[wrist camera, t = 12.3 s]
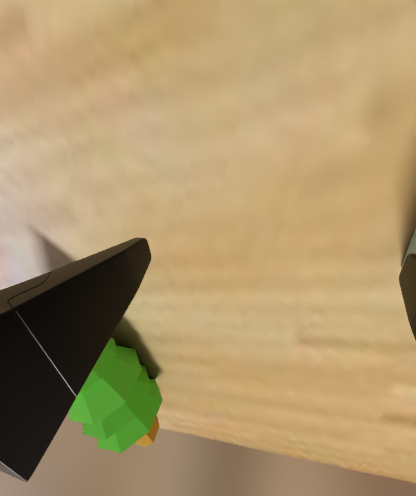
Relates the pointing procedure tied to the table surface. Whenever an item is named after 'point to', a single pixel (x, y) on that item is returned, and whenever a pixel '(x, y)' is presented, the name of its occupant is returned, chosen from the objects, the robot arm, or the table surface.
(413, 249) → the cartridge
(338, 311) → the table surface
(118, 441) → the decorative tree
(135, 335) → the table surface
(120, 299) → the robot arm
